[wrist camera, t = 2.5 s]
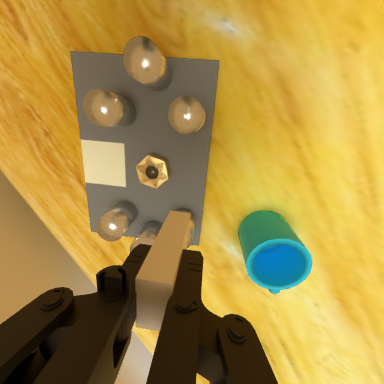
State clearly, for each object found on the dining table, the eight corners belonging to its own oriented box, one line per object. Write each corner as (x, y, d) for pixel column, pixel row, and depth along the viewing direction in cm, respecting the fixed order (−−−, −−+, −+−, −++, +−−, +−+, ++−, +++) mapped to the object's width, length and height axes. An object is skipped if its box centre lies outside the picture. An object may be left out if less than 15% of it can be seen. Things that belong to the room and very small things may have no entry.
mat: (73, 52, 26) (70, 51, 25) (219, 62, 25) (219, 60, 24) (93, 229, 35) (91, 231, 35) (198, 243, 34) (198, 245, 34)
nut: (138, 155, 29) (133, 157, 27) (165, 150, 29) (162, 152, 27) (146, 186, 31) (142, 190, 29) (172, 182, 30) (170, 186, 28)
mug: (236, 212, 31) (244, 241, 24) (288, 207, 30) (313, 235, 23) (241, 270, 35) (249, 311, 28) (287, 268, 34) (309, 310, 26)
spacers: (106, 53, 25) (75, 32, 19) (211, 60, 24) (211, 40, 18) (117, 234, 35) (98, 256, 29) (193, 244, 34) (189, 268, 28)
